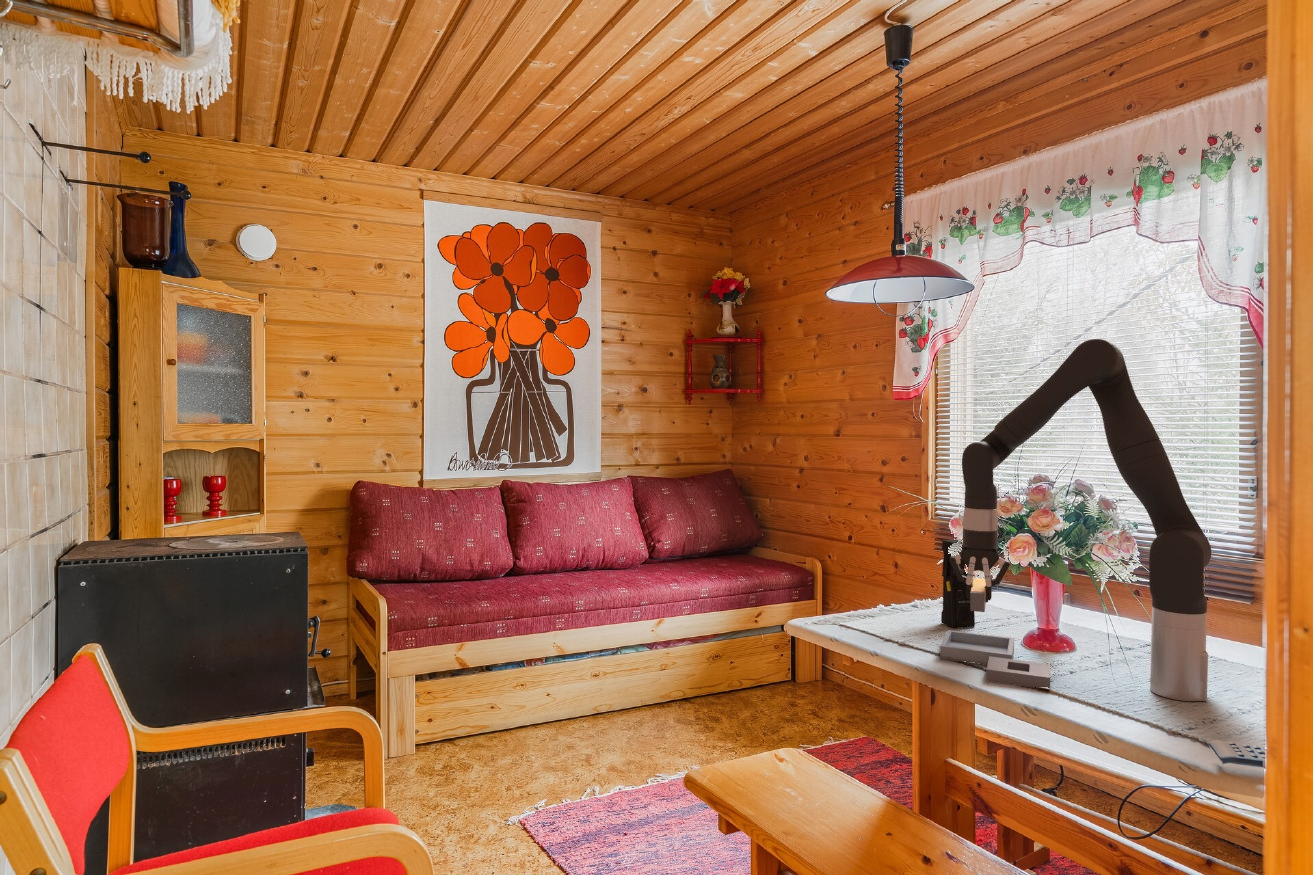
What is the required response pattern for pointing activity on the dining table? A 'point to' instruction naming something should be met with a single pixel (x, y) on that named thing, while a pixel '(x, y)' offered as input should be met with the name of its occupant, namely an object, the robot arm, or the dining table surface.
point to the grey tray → (975, 647)
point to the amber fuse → (978, 595)
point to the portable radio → (954, 594)
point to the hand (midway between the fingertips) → (978, 600)
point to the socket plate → (1018, 672)
